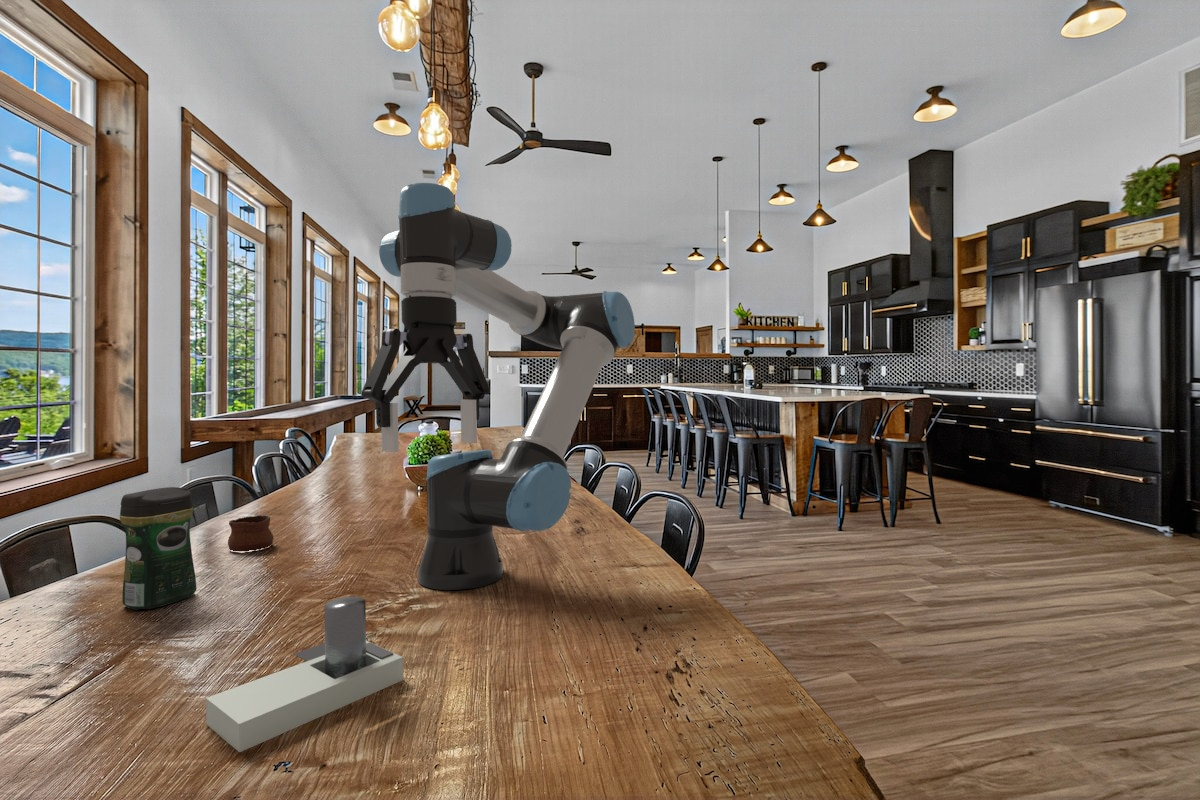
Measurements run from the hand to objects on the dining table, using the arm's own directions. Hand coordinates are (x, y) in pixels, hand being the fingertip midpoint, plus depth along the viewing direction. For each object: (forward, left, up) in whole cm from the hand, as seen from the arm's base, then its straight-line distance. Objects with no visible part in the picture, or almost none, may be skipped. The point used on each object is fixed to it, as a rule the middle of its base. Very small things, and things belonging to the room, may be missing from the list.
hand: (432, 447), depth 87 cm
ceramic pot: (-69, +4, -27) cm, 74 cm away
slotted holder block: (+6, -21, -26) cm, 34 cm away
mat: (-4, -13, -26) cm, 30 cm away
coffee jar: (-46, -20, -27) cm, 57 cm away
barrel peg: (+6, -17, -27) cm, 32 cm away
